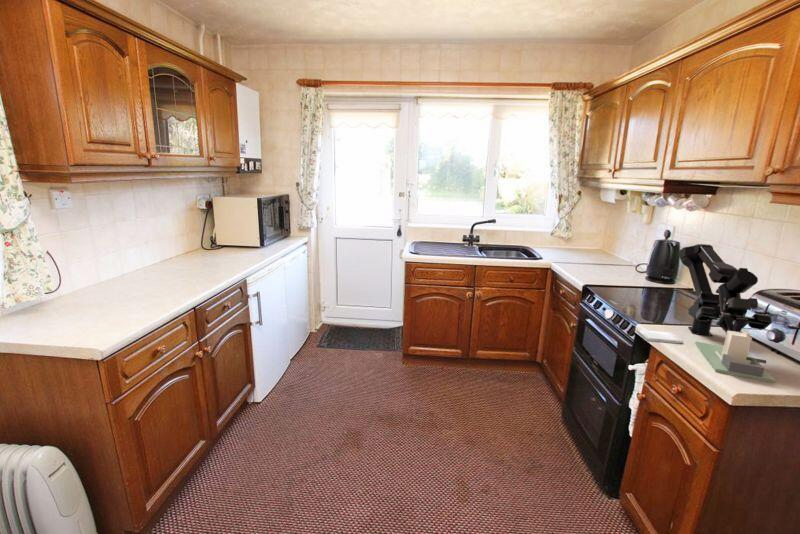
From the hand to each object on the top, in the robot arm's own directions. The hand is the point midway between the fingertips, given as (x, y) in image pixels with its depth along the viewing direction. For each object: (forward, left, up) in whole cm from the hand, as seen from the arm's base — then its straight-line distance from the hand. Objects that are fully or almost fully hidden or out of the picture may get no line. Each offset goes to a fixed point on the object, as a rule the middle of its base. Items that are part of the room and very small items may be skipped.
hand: (734, 341), depth 124 cm
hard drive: (-10, -18, -8) cm, 22 cm away
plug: (+2, +3, -6) cm, 7 cm away
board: (+1, 0, -7) cm, 7 cm away
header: (+9, 0, -6) cm, 11 cm away
